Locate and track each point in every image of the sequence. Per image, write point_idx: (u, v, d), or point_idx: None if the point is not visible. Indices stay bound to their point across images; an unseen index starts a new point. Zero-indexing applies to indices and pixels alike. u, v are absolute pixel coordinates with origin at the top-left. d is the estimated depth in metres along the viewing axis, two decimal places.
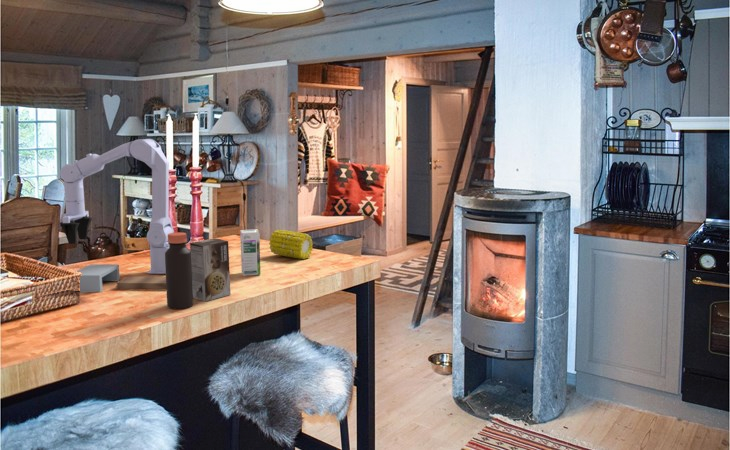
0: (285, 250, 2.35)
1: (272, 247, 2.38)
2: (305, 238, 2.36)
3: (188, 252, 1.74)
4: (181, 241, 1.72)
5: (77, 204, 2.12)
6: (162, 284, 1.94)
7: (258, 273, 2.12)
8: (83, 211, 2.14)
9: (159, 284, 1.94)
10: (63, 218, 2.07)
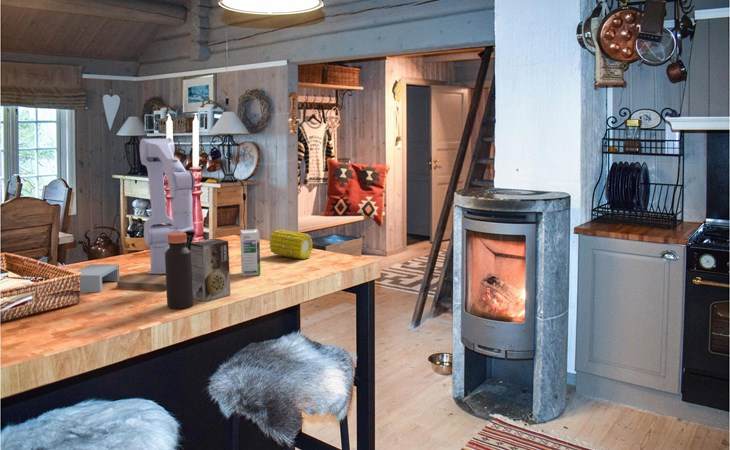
0: (285, 250, 2.35)
1: (272, 247, 2.38)
2: (305, 238, 2.36)
3: (188, 252, 1.74)
4: (181, 241, 1.72)
5: (187, 216, 1.91)
6: (159, 285, 1.93)
7: (258, 273, 2.12)
8: (192, 223, 1.94)
9: (156, 285, 1.93)
10: (175, 232, 1.87)
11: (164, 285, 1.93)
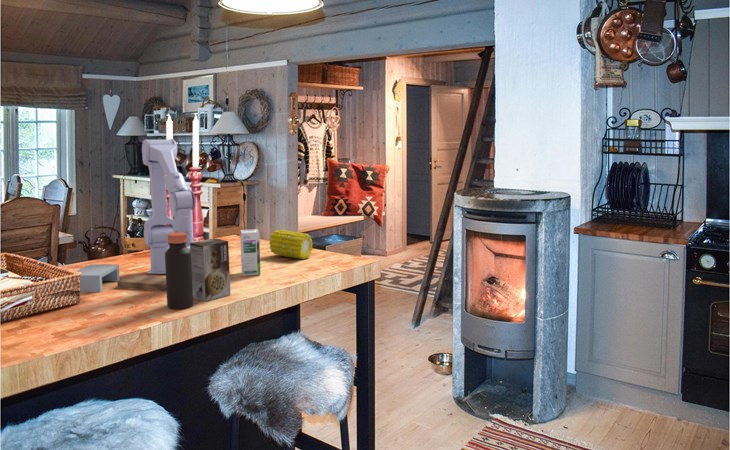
0: (285, 250, 2.35)
1: (272, 247, 2.38)
2: (305, 238, 2.36)
3: (188, 252, 1.74)
4: (181, 241, 1.72)
5: (187, 235, 1.92)
6: (157, 285, 1.93)
7: (258, 273, 2.12)
8: (192, 242, 1.95)
9: (155, 285, 1.93)
10: None
11: (162, 285, 1.92)
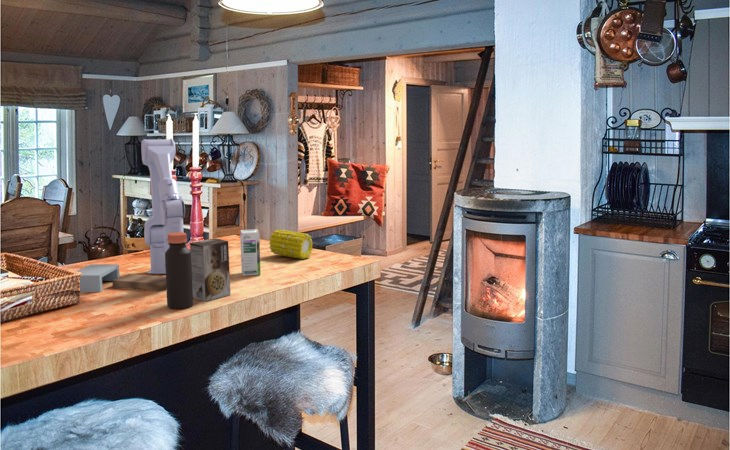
0: (285, 250, 2.35)
1: (272, 247, 2.38)
2: (305, 238, 2.36)
3: (188, 252, 1.74)
4: (181, 241, 1.72)
5: None
6: (152, 284, 1.93)
7: (258, 273, 2.12)
8: None
9: (150, 284, 1.93)
10: (164, 259, 1.89)
11: (157, 284, 1.92)
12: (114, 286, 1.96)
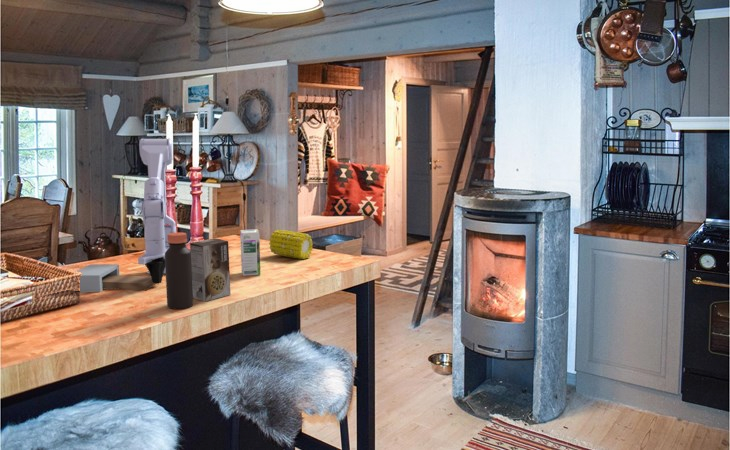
0: (285, 250, 2.35)
1: (272, 247, 2.38)
2: (305, 238, 2.36)
3: (188, 252, 1.74)
4: (181, 241, 1.72)
5: (156, 243, 1.93)
6: (137, 284, 1.93)
7: (258, 273, 2.12)
8: (162, 251, 1.95)
9: (134, 284, 1.93)
10: (139, 259, 1.90)
11: (142, 284, 1.93)
12: None
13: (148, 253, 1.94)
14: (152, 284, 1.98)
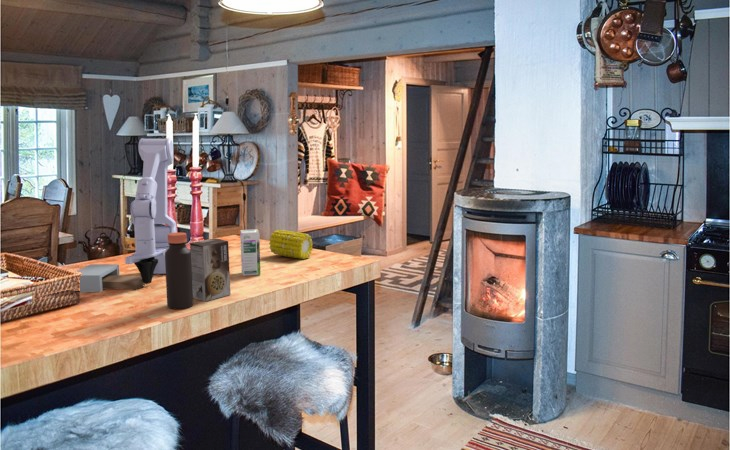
0: (285, 250, 2.35)
1: (272, 247, 2.38)
2: (305, 238, 2.36)
3: (188, 252, 1.74)
4: (181, 241, 1.72)
5: (144, 243, 1.93)
6: (128, 283, 1.94)
7: (258, 273, 2.12)
8: (151, 251, 1.95)
9: (125, 283, 1.94)
10: (126, 258, 1.90)
11: (133, 283, 1.94)
12: None
13: (137, 253, 1.94)
14: (143, 283, 1.99)
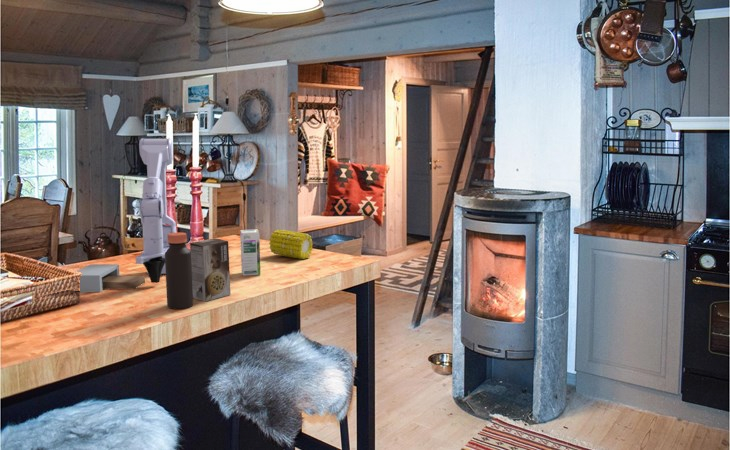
0: (285, 250, 2.35)
1: (272, 247, 2.38)
2: (305, 238, 2.36)
3: (188, 252, 1.74)
4: (181, 241, 1.72)
5: (153, 243, 1.94)
6: (125, 283, 1.95)
7: (258, 273, 2.12)
8: (160, 250, 1.95)
9: (123, 283, 1.95)
10: (136, 258, 1.90)
11: (131, 283, 1.95)
12: None
13: (146, 252, 1.94)
14: (140, 283, 2.00)
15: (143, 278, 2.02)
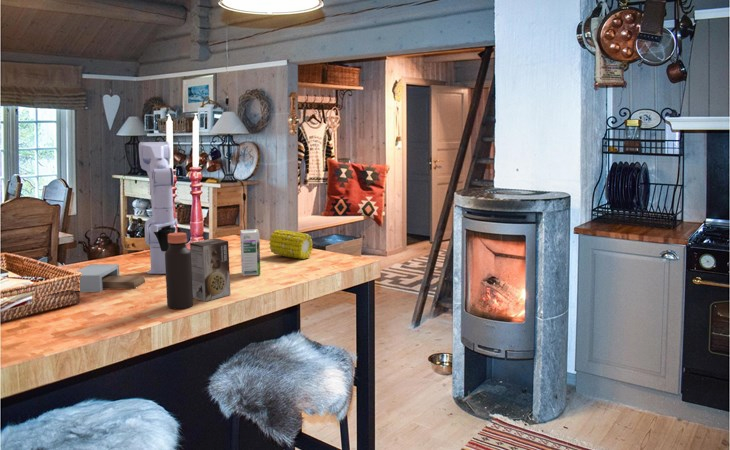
0: (285, 250, 2.35)
1: (272, 247, 2.38)
2: (305, 238, 2.36)
3: (188, 252, 1.74)
4: (181, 241, 1.72)
5: (166, 211, 1.97)
6: (126, 283, 1.95)
7: (258, 273, 2.12)
8: (172, 219, 1.99)
9: (123, 283, 1.95)
10: (151, 226, 1.93)
11: (131, 283, 1.95)
12: None
13: (158, 221, 1.97)
14: (140, 283, 2.00)
15: (143, 278, 2.02)
